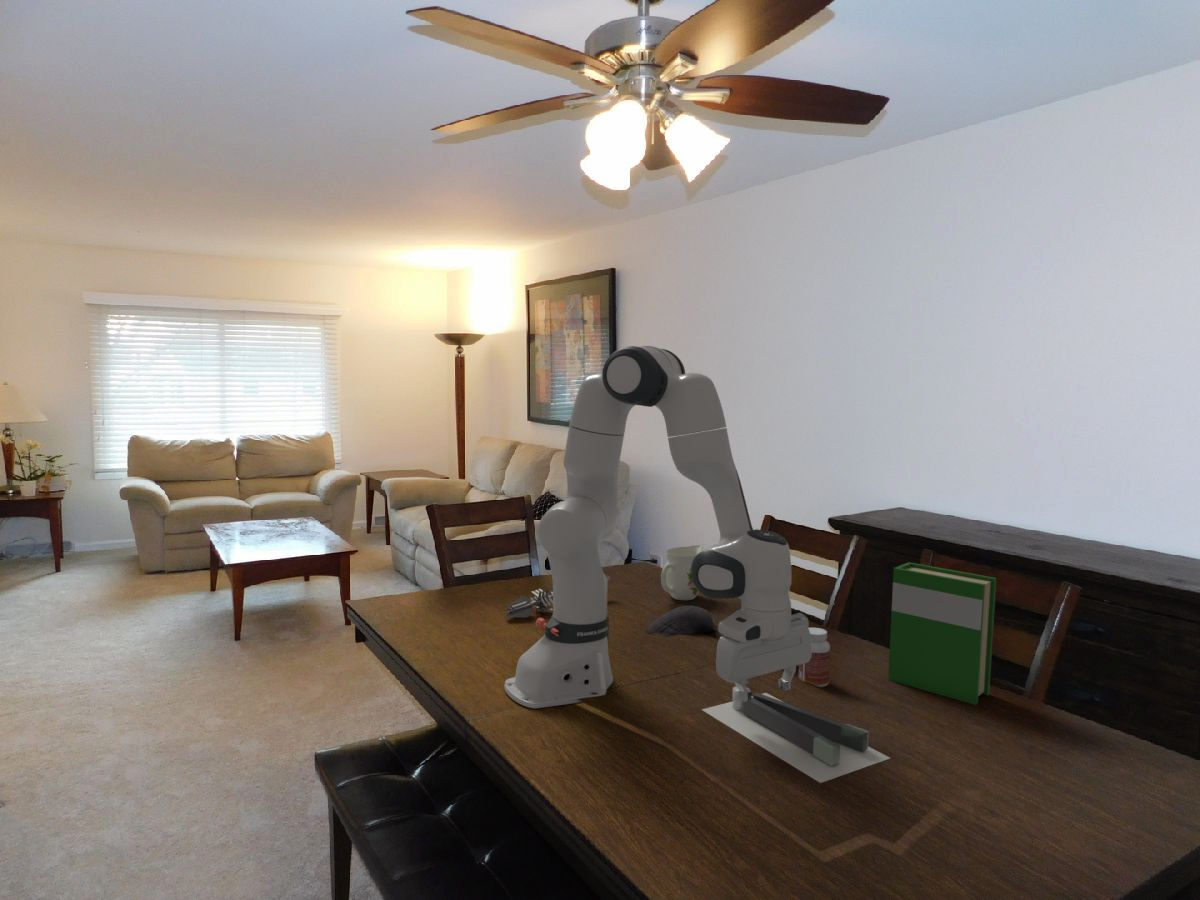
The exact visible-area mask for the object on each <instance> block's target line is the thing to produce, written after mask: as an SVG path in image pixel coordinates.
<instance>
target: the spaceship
mask: <svg viewBox="0 0 1200 900" xmlns="http://www.w3.org/2000/svg"><path fill="white" fill-rule="evenodd" d="M605 576H606V578H607V583H608V582H609V581H610V579H611V576H610V575H607V574H605ZM531 593H532V594H534V596H533V597H527V596H524V595H520V596H519V597H518V598H517V599H515V600H514V601H513V602H511V603H510V604H509V606H507V607H506V608H505V611H506V613H505V615H506V617H507V618H529V616H530V615H531V614H532V613H533V611H534V610H533V607H534V606H535V608H536V609H535V612H536V613H538V612H543V613H547V612H550V611H553V607H551V606H550V605H553V582H552V583H551V587H550V595H549V588H547V589H546V590H545V589H541V588H538V590H537V589H535V590H533V591H531ZM551 603H552V604H551Z"/></svg>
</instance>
